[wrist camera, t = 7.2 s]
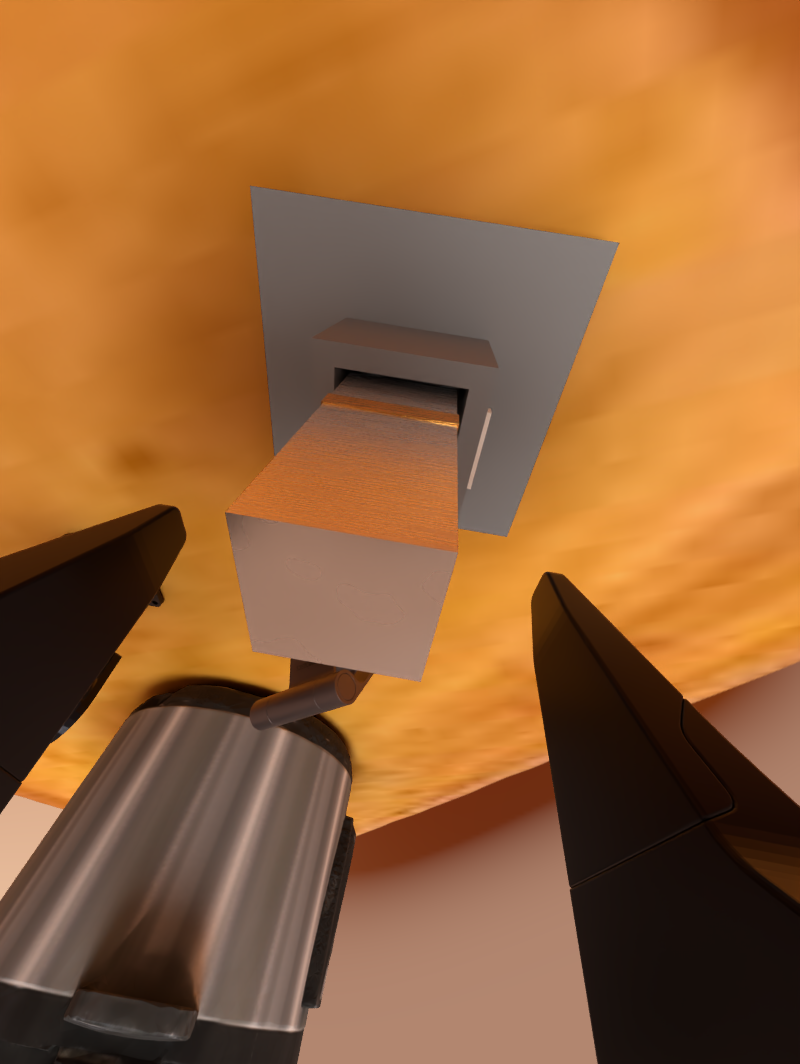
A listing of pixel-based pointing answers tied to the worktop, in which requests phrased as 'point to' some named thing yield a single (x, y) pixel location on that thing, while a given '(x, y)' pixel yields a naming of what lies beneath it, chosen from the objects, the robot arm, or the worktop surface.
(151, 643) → the worktop surface
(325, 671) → the portable electronic device stand
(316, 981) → the pressure cooker
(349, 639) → the steel column
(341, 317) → the grey socket plate
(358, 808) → the worktop surface
